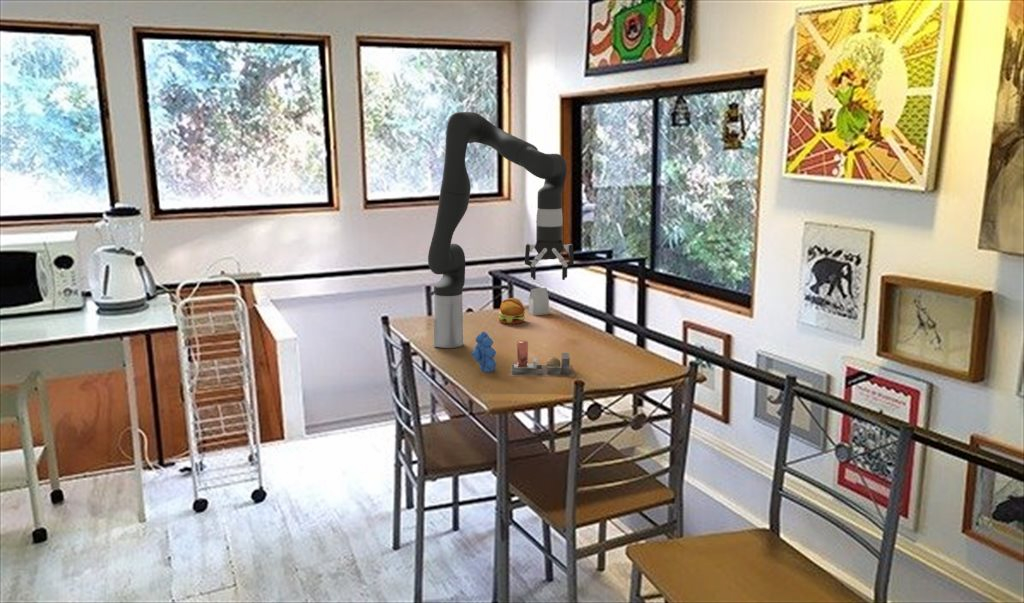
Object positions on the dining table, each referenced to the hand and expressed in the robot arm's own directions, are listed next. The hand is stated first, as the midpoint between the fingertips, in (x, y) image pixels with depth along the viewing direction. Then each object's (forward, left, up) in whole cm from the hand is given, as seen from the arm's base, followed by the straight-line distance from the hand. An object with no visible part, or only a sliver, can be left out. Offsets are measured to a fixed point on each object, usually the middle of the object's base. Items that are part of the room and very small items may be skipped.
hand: (548, 279), depth 223 cm
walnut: (+1, -11, -24) cm, 27 cm away
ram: (-7, -11, -24) cm, 27 cm away
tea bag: (-2, +69, -26) cm, 74 cm away
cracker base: (-2, -11, -26) cm, 28 cm away
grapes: (-19, -9, -26) cm, 34 cm away
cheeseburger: (-12, +55, -26) cm, 62 cm away
